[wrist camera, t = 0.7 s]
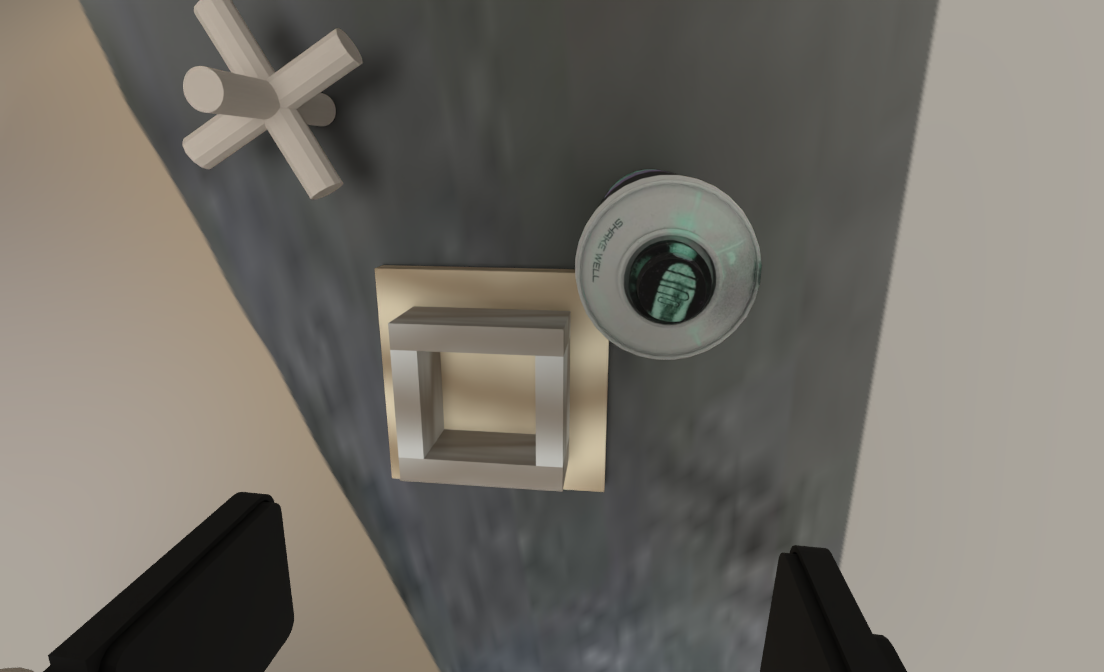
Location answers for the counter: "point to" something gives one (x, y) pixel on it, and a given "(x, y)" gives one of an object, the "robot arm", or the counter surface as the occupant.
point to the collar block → (492, 378)
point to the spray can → (667, 265)
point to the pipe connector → (266, 97)
